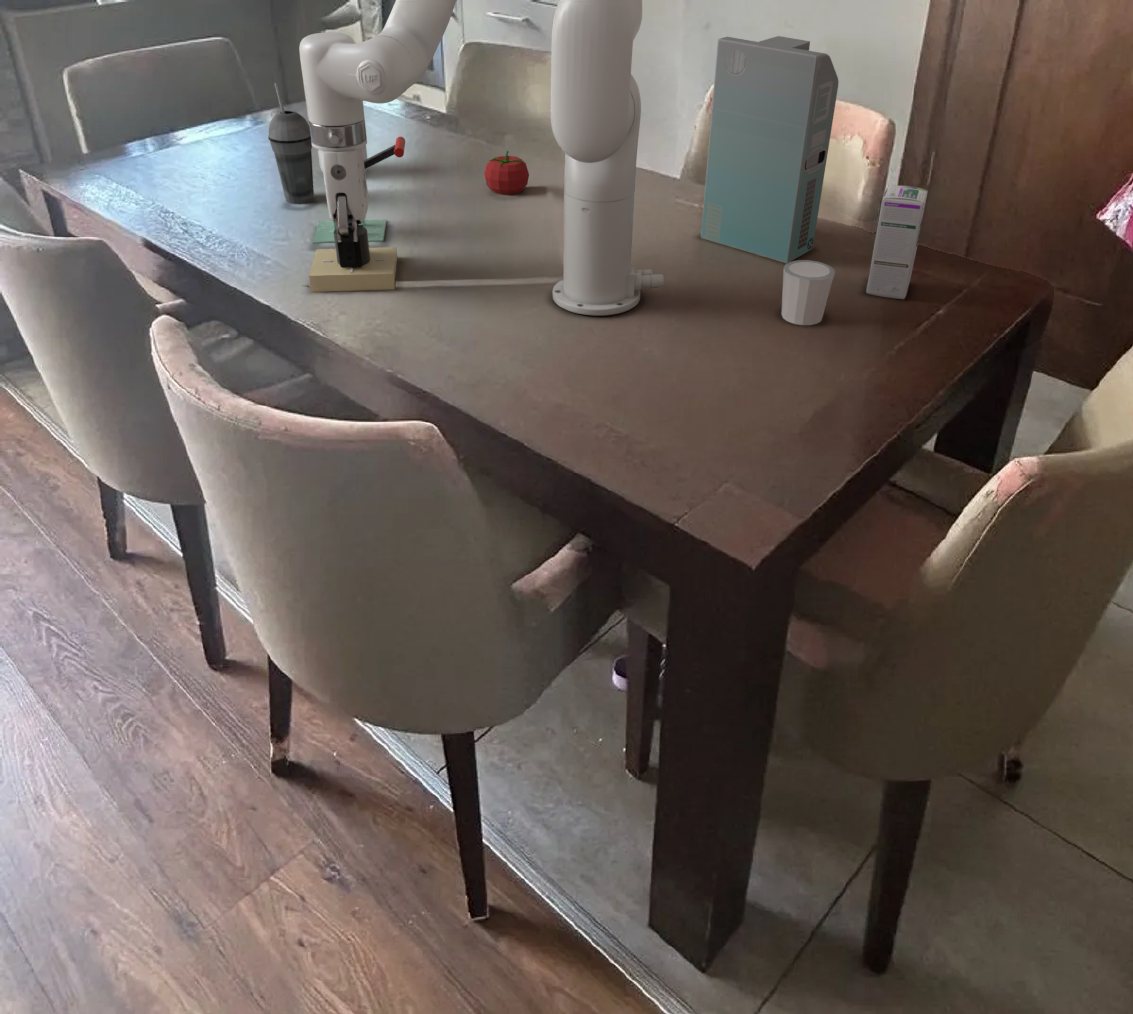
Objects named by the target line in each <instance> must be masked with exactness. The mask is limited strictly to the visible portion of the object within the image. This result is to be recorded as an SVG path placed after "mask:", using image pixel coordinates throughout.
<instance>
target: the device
mask: <svg viewBox="0 0 1133 1014" xmlns="http://www.w3.org/2000/svg"><path fill="white" fill-rule="evenodd" d="M810 45H811V41H810V40H805V39H801V38H800V39H799V38H793V37H786V36H781V35H776V36H773V37H770V38H766V39H763V40H760V41H756V40H755V41H754V40H749V39H743V38H737V37H732V36H724V37H721V38H718V39H717V47H716V59H715V71H714V80H713V81H714V82H713V91H712V92H713V93H712V104H711V114H710V126H709V128H710V129H709V137H708V138H709V139H708V149H707V161H706V172H705V184H704V194H703V205H702V217H701V229H700V239H703V240H706V241H710V242H713V243H717V244H719V245H723V246H726V247H730V248H733V249H736V250H740V251H743V252H745V253H750V254H753V255H757V256H760V257H764V258H767V259H769V260H773V261H777V262H780V263H784V264H787V263H789V262H792V261H795V260H796V259H797V258H799V257H801V256H803V255H804V254H806V253H808V252H809V251H810V252H811V250H812V249H813V247H814V243H815V237H816V229H817V225H818V218H819V211H820V204H821V198H822V193H823V187H824V186H823V185H824V178H825V174H826V167H827V160H828V155H829V148H830V142H831V134H832V128H833V122H834V116H835V109H836V102H837V96H838V91H839V82H840V81H839V76H838V75H837V71H836V68H835V66H834V64H833V61H832V58H831V56H830V54H828V53H825V52H819V51H812V50H810V47H811V46H810Z"/></svg>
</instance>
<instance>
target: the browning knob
mask: <svg viewBox="0 0 1133 1014" xmlns="http://www.w3.org/2000/svg"><path fill="white" fill-rule="evenodd" d="M349 227H351V228H352V225H349ZM357 235H358V240H360V244H361V253H362V262H363V265H365V264H367V263H368V262H369V261H370V252H369V248H370V245H369V244H370V242H368V234H367V229H366V228H364V227H362V226H357ZM334 240H335V243H334V247H335V248H334V249H336V255H337V262H338V264H340V261H339V253H338V245H337V240H338V239H337V229H335V230H334Z"/></svg>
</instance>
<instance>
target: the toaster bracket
mask: <svg viewBox="0 0 1133 1014" xmlns="http://www.w3.org/2000/svg"><path fill="white" fill-rule="evenodd" d="M358 225H363V227H364V228H366V229H367V234H368V243H382V242H384V241H385V240H384V239H385V234H386V227H387V219H366V218H365V219H364V221H362V224H358ZM335 229H337V227H336V221H335V222H333V221H332V220H319V221H318V222H317V226H316V230H315V232H314V236H313V239H312V244H335V240H334V230H335Z"/></svg>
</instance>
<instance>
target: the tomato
mask: <svg viewBox="0 0 1133 1014" xmlns="http://www.w3.org/2000/svg"><path fill="white" fill-rule="evenodd" d="M483 175H484V178H485V182H486V186H487V187H488V188H489V190H490V191H492V192H493V193H495V194H499V195H515V194H519V193H521V192H522V191H523V190H525V188H526V186H528V183H529V177H530V172H529V170H528V166H527V163H526V161H524V160H523V159H522V158H520V157H518V156H513V155H509V150H507V151H506V153H505V155H501V156H496V157H493V158H492V159H489V160H488V162H487V163H486V164H485V168H484V173H483Z"/></svg>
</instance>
